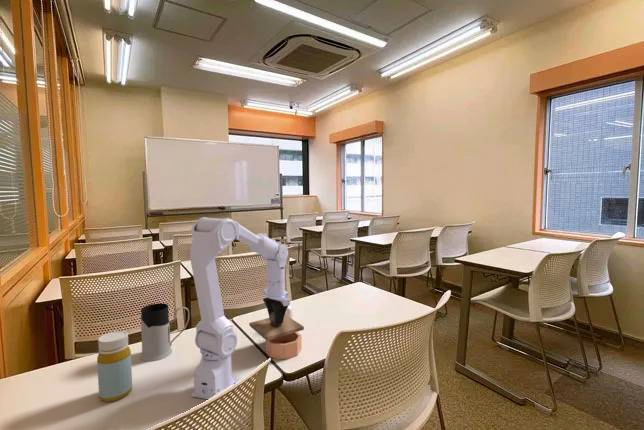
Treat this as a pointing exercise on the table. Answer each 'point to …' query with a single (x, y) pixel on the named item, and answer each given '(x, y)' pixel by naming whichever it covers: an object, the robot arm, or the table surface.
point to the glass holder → (156, 331)
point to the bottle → (114, 366)
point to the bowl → (284, 346)
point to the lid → (275, 327)
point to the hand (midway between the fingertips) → (276, 321)
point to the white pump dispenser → (289, 312)
